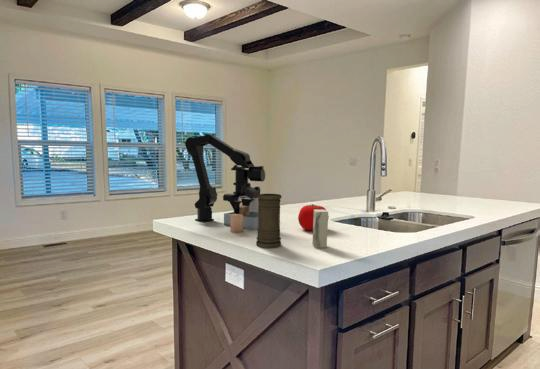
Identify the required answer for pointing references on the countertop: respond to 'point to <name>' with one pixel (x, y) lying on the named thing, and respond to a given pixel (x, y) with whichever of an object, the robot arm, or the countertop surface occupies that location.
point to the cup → (254, 205)
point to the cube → (244, 210)
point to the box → (320, 228)
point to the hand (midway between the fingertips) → (241, 215)
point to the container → (269, 221)
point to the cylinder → (236, 223)
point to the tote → (244, 220)
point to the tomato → (308, 216)
